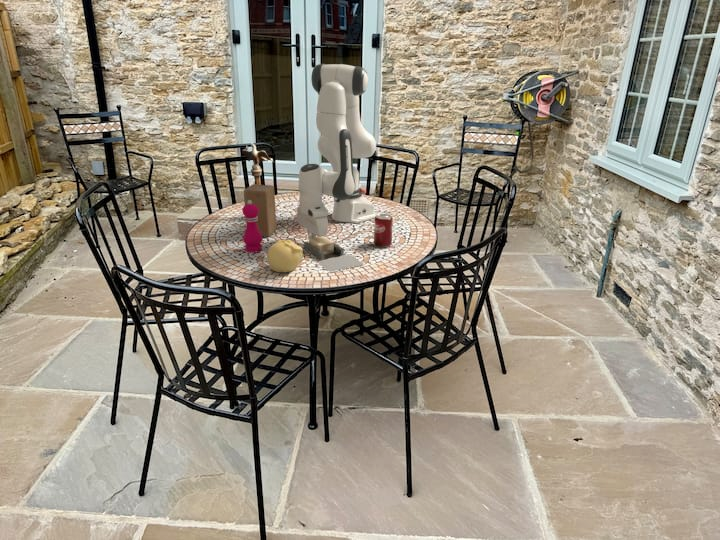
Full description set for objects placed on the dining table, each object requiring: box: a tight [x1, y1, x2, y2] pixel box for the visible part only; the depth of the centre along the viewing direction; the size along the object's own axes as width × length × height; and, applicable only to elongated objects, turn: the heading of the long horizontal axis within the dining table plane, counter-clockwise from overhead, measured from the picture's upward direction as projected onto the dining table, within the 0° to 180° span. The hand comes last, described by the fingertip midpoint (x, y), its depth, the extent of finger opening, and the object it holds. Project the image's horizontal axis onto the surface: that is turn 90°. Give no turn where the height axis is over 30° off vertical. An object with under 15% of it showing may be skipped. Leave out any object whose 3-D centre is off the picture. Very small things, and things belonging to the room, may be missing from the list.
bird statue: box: [241, 142, 275, 185], centre depth 220 cm, size 17×13×35 cm
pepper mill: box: [242, 200, 263, 253], centre depth 184 cm, size 7×7×20 cm
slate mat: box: [316, 254, 364, 274], centre depth 176 cm, size 14×10×1 cm
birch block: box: [308, 236, 335, 254], centre depth 186 cm, size 6×9×4 cm, turn 32°
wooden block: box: [243, 183, 278, 238], centre depth 201 cm, size 10×10×20 cm
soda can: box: [373, 213, 394, 248], centre depth 193 cm, size 7×7×12 cm
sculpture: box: [266, 239, 304, 273], centre depth 170 cm, size 12×12×11 cm
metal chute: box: [303, 241, 345, 261], centre depth 185 cm, size 10×14×3 cm
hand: (311, 240), depth 192 cm, fingers closed
